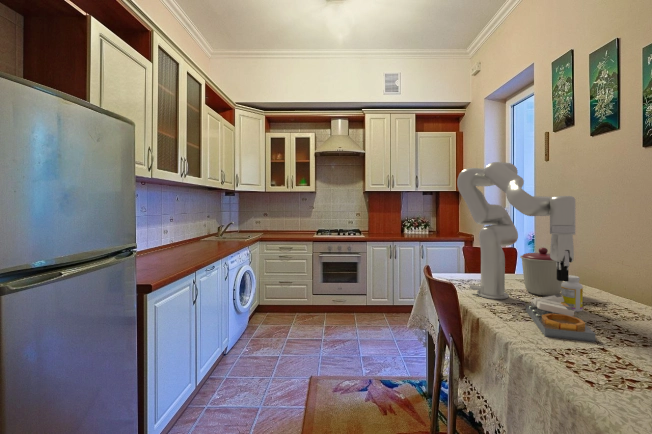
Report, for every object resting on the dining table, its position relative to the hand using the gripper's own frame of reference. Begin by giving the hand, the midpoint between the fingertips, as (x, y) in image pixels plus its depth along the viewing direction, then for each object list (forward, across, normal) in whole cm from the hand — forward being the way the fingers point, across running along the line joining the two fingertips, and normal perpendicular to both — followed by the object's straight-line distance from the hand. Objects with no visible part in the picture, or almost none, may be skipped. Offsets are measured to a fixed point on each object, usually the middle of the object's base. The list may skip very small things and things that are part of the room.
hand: (562, 280), depth 119 cm
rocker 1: (+8, 0, -5) cm, 9 cm away
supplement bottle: (+13, -10, +6) cm, 17 cm away
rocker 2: (+8, +5, -5) cm, 10 cm away
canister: (+13, -34, +2) cm, 36 cm away
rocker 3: (+8, +10, -5) cm, 13 cm away
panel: (+13, +11, -5) cm, 18 cm away
